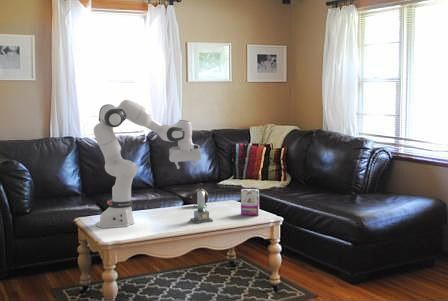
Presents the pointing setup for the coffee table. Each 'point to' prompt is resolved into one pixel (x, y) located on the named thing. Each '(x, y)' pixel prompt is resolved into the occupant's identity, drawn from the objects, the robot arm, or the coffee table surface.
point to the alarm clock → (194, 196)
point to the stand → (201, 217)
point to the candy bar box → (250, 202)
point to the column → (201, 201)
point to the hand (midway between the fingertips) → (185, 168)
